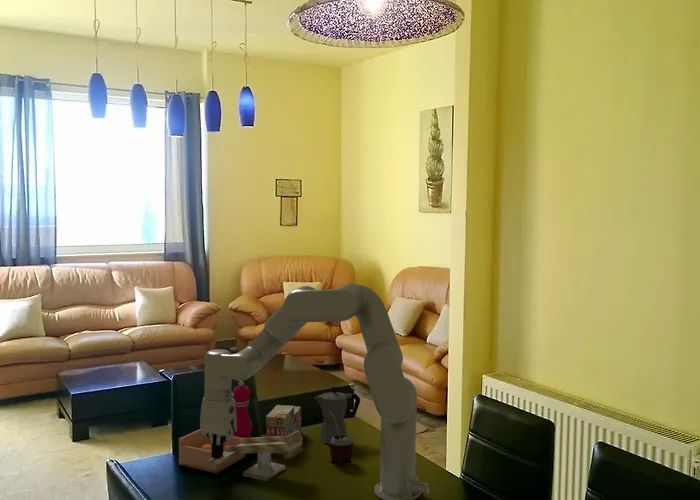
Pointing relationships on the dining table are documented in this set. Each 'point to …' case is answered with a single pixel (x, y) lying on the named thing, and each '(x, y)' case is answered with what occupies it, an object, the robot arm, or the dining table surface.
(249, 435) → the pepper mill
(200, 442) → the pink open box
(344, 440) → the mate gourd
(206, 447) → the ball
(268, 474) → the pivot stand
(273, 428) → the stack of blocks
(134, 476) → the dining table surface
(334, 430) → the coffeepot
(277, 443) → the tray
